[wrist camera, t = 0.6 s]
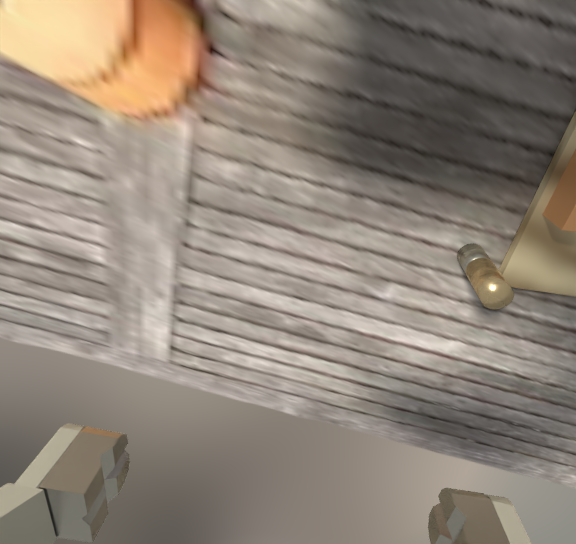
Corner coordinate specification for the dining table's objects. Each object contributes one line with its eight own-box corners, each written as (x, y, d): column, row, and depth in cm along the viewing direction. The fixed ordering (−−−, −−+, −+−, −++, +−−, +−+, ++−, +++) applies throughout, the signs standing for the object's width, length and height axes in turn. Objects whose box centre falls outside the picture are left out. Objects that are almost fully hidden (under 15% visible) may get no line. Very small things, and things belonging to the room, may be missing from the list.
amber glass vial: (461, 242, 43) (488, 282, 35) (487, 245, 42) (519, 287, 35) (453, 263, 44) (476, 306, 37) (478, 266, 44) (506, 311, 36)
